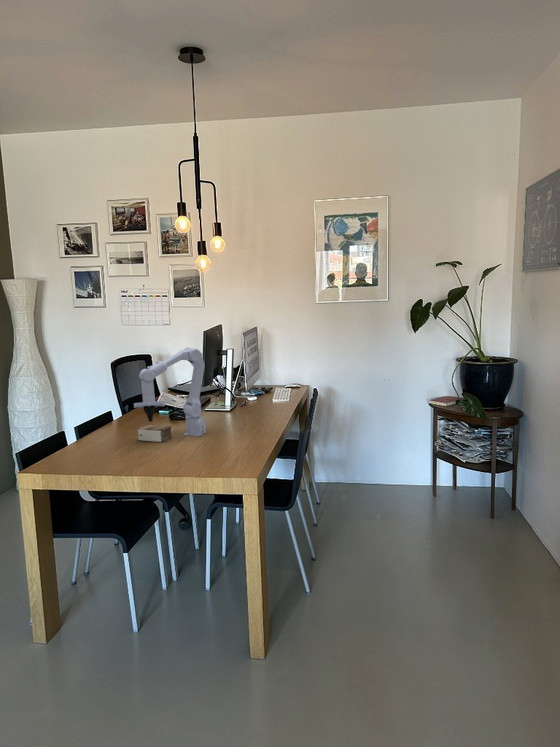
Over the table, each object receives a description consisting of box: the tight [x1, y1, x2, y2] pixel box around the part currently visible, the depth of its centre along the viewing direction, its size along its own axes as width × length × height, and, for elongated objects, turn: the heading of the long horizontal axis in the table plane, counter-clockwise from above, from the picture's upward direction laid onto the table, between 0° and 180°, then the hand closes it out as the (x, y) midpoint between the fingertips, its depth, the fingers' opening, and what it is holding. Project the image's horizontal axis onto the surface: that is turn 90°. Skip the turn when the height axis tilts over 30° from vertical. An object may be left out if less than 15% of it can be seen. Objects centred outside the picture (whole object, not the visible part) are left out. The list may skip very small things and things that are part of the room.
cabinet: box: [137, 424, 172, 443], centre depth 260 cm, size 15×7×6 cm, turn 69°
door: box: [137, 429, 163, 443], centre depth 256 cm, size 14×2×5 cm, turn 68°
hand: (150, 421), depth 255 cm, fingers closed
